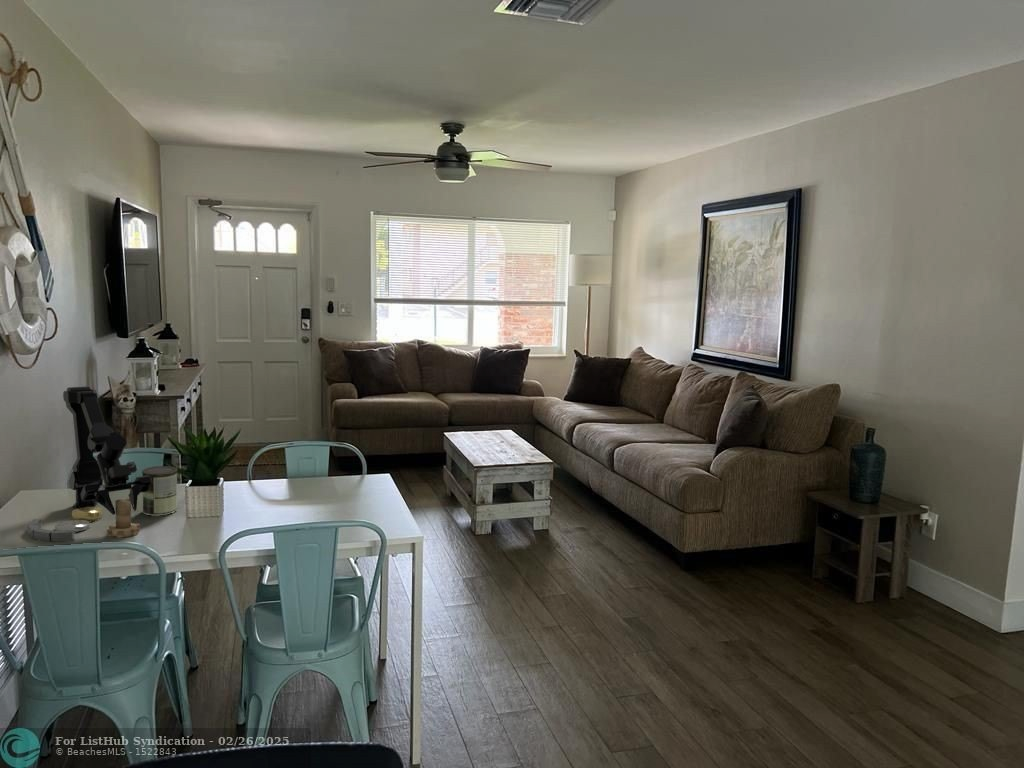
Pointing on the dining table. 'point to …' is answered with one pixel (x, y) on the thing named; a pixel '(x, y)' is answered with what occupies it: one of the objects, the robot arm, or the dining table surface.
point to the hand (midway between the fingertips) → (124, 512)
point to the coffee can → (160, 491)
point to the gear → (123, 520)
